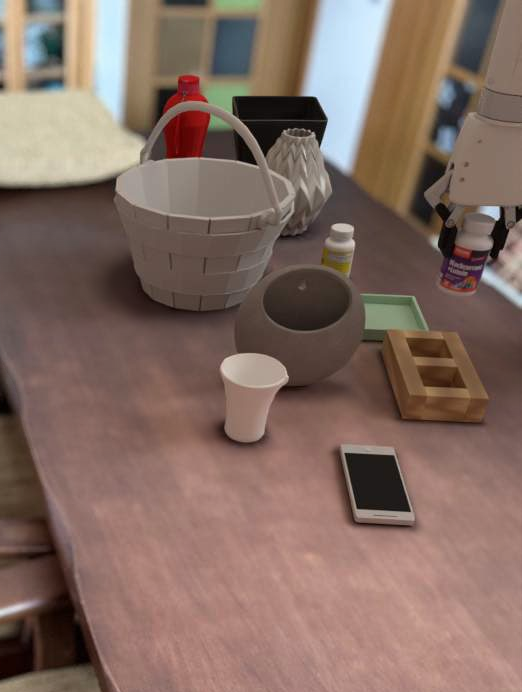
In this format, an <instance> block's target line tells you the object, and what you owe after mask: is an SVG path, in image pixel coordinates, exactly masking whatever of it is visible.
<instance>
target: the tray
mask: <svg viewBox="0 0 522 692" xmlns="http://www.w3.org/2000/svg"><path fill="white" fill-rule="evenodd" d="M360 294H361V297H362V299H363V303H364V307H365V316H366V319H365V329H364V333H363V337H362V340H361V341H377V342H379V341H380V342H383V340H384V336H385V332H386V329H397V330H418V331H430V329H429V327H428V324H427V322H426V319H425V317H424V315H423V313H422V310H421V308H420V306H419V303H418V300H417V299H416V296H415V295H405V294H404V295H403V294H382V293H381V294H380V293H379V294H377V293H360Z"/></svg>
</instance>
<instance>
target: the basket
mask: <svg viewBox="0 0 522 692" xmlns="http://www.w3.org/2000/svg"><path fill="white" fill-rule="evenodd" d="M188 110H192V111H202V112H206V113H209V114H211V116H213V117H216V118H218V119H220V120H222V121H223V122H225V123H226V124H227V125H229V126H230V127H231V128H232V129H233V128H234V129H235V130H236V131H237V132H238V133H239V135H240V136H241V137H242V138H243V139H244V141H245V142H246V144H247V145H248V147H249V148H250V150H251V151H252V153H253V155H254V158H255V160H256V162H257V164H258V166H256V165H252V164H248V163H244V162H240V161H237V160H235V159H224V158H214V157H213V158H212V157H203V156H202V157H200V159H199V158H198V157H195V158H177V159H166V158H163V159H159V160H154V159H147V154H148V153H150V152H151V150H152V148H153V147H154V145H155V143H156V141H157V139H158V137H159V135H160V134H161V133H162V131H163V128H164V127H165V125H166V124H167V123H168V122H169V121H170V120H171V119H172V118H173V117H175V116H176V115H178V114H179V113H182V112H185V111H188ZM295 196H296V193H295V191H294V188H293V186H292V183H291V181H290V180H288V179H286V178H284V177H283V176H281V175H279V174H277V173H275V172H274V171H272V170H270V169H268V166H267V163H266V160H265V157H264V155H263V153H262V151H261V149H260V147H259V145H258V143H257V141H256V139H255V138H254V136H253V135H252V134H251V132H250V131H249V129H248V128H247V127H246V126H245V125H244V124H243V123H242V122H241V121H240V120H239V119H238V118H237V117H236V116H234V115H233V114H232V113H231V112H229V111H228V110H226V109H224V108H222V107H220V106H217V105H215V104H214V103H213V104H212V103H210V102H209V103H205V102H201V101H187V102H182V103H179V104H177V105H175V106H174V107H172V108H170V109H169V110H168V111H167V112H166V113H165V114H164V115H163V114H162V116H161V117H160V118H159V120H158V121H157V123H156V125H155V127H154V128H153V129H152V131H151V134H150V135H149V137H148V139H147V141H146V142H145V144H144V147H142V148H141V149H140V152H139V164H137V165H134V166H133V167H131V168H129V169H127V170H126V171H125V172H123V173H121V174H120V175H118V176H117V177H116V183H115V196H114V198H113V202H114V204H115V207H116V210H117V212H118V215H119V217H120V219H121V223H122V224H121V225H122V227H123V230H124V232H125V234H126V235H127V237H128V241H129V248H130V252H131V257H132V261H133V268H134V271H135V273H136V275H137V276H138V277H139V281H140V283H141V287H142V288H141V289H142V290H143V292H144V293H146V294H147V295H148V297H150V298H151V299H152V300H153V301H155V302H158V303H159V304H163V305H164V306H168V307H171V308H173V309H174V308H175V309H180V310H188V311H195V312H205V311H217V310H224V309H225V310H226V309H229V308H231V307H234V306H236V305H237V306H238V305H240V304H241V303H242V302H243V300H244V298H245V297H246V295H247V294H248V293H249V291H250V290H251V289H252V288H253V287H254V286H255V285H256V284H257V283H258V282H259V281H260V280H261V279H262V278H263V276H264V273H265V271H266V268H267V266H268V264H269V262H270V260H271V257H272V256H273V247H274V244H275V242H276V240H277V239H278V238H279V237H280V236H281V234H280V233H281V231H282V230H283V228H284V226H285V225H286V223H287V222H288V220H289V219H290V217H291V216H292V214H293V213H294V198H295Z"/></svg>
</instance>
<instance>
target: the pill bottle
mask: <svg viewBox="0 0 522 692" xmlns="http://www.w3.org/2000/svg"><path fill="white" fill-rule="evenodd" d="M495 222H496V218H494V217H493V216H491V215H489V214H486V213H482V212H473V211H472V212H471V211H470V212H466V213H465V214H464V215H463V218H462V220H461V223H460V228H458V232H457V235H456V239H455V242H454V246H453V249H452V253H451V256H450V257H449V258H444V257H443V260H442V262H441V265H440V268H439V272H438V275H437V278H436V281H435V285H436V287H437V289H439V291H441V292H443V293H445V294H447V295H450V296H455V297H470V296H472V295H474V294H475V293H476V291H477V289H478V287H479V284H480V282H481V279H482V277H483V273H484V270H485V268H486V266H487V263H488V260H489V258H490V256H489V255H490V252H491V250H492V247H493V244H494V241H493V238H492V236H491V235H490V233H492V230H493V228H494V225H495Z"/></svg>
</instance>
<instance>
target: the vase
mask: <svg viewBox="0 0 522 692" xmlns="http://www.w3.org/2000/svg"><path fill="white" fill-rule="evenodd" d="M265 160H266V163H267V166H268V169H270V170H272V171H274V172H275V173H277V174H279V175H281V176H283V177H284V178H286V179H288V180H290V181H291V183H292V186H293V188H294V191H295V193H296V196H295V198H294V213H293V214H292V216H291V217H290V219H289V220H288V222H287V223H286V225H285V226H284V228H283V230H282V231H281V233H280V236H281V235H282V236H283V237H285V236H293V237H294V236H296V235H302V234H303V233H304V232H306V231H307V229H308V226H309V225H311V224H313V222H314V221H315V219H316V218H317V217H318V215H320V213H321V211H322V209H323V207H324V205H325V204H326V202H327V201H328V199H329V198H330V197H331V195H332V194H333V188H332V183H331V180H330V176H329V173H328V171H327V170H326V168H325V161H324V155H323V152H322V150H321V148H320V149H319V146H318V141H317V140H316V138H315V133H314V132H310V130H305V129H297V128H295V129H288V130H284V131H283V132H282V134H281V137H280V138H278V139H277V141H276V144H275V145H274V146H273V147H272V148H271V149H270V150H269V151H268V154H267V156H266V158H265Z"/></svg>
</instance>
